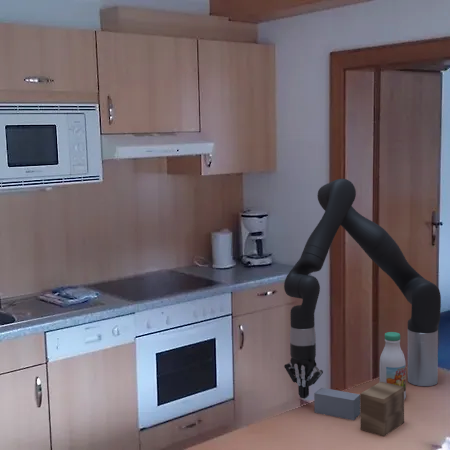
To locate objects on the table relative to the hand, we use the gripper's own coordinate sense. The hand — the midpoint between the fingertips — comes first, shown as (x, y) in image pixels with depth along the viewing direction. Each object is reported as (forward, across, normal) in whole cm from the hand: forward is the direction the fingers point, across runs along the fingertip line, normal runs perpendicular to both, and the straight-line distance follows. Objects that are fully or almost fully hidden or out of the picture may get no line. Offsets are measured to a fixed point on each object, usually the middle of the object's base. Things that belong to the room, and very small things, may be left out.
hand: (303, 397), depth 204 cm
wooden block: (+2, +26, 0) cm, 26 cm away
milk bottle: (+2, +18, +20) cm, 27 cm away
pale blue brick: (+2, +12, 0) cm, 12 cm away
